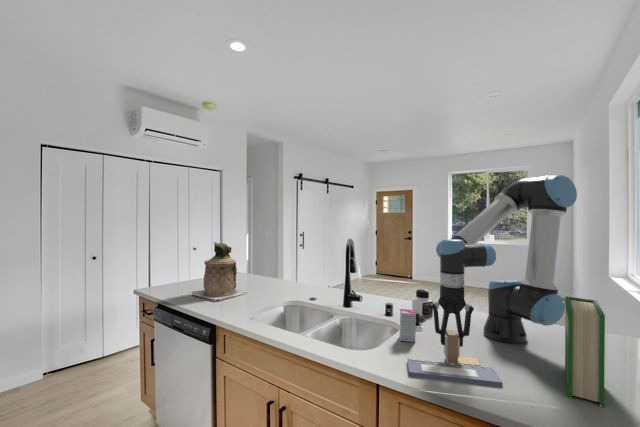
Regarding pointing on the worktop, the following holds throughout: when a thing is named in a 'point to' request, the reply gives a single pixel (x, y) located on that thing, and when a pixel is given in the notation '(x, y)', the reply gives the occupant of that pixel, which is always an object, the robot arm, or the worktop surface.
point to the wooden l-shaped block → (453, 351)
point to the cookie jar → (220, 276)
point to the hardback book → (584, 349)
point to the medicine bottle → (422, 303)
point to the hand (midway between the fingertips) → (451, 354)
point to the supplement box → (407, 325)
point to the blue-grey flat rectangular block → (454, 372)
